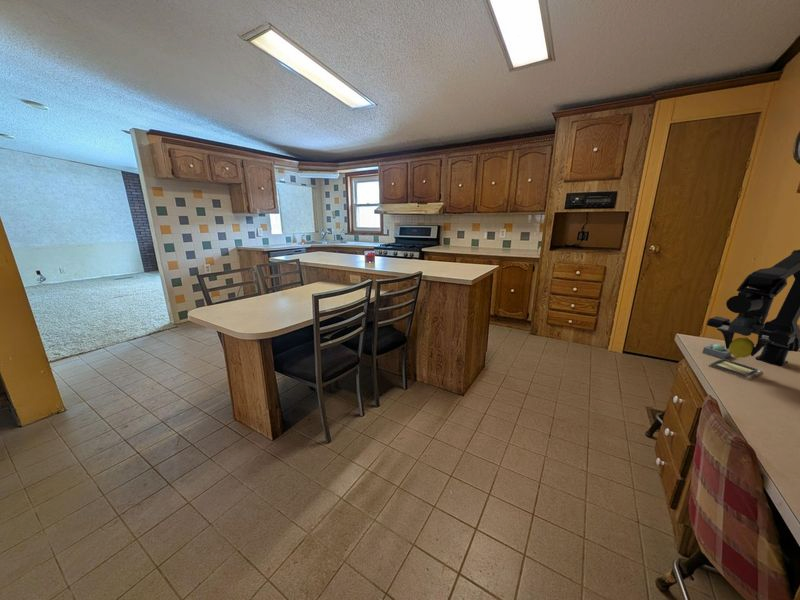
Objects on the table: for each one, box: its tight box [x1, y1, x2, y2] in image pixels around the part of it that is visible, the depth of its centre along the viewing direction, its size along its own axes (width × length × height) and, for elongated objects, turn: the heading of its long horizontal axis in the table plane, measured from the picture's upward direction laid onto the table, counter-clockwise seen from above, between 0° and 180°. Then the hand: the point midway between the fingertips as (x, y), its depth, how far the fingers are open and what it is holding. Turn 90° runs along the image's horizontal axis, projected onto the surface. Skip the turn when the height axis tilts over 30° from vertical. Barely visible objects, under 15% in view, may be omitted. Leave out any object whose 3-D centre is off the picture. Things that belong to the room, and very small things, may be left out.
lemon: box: [729, 337, 756, 359], centre depth 100 cm, size 6×6×8 cm
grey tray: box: [708, 358, 764, 381], centre depth 102 cm, size 11×10×1 cm
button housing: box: [702, 344, 732, 359], centre depth 113 cm, size 6×6×2 cm
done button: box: [712, 343, 726, 352], centre depth 113 cm, size 3×3×3 cm
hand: (739, 352), depth 100 cm, fingers closed on lemon, 6 cm apart
